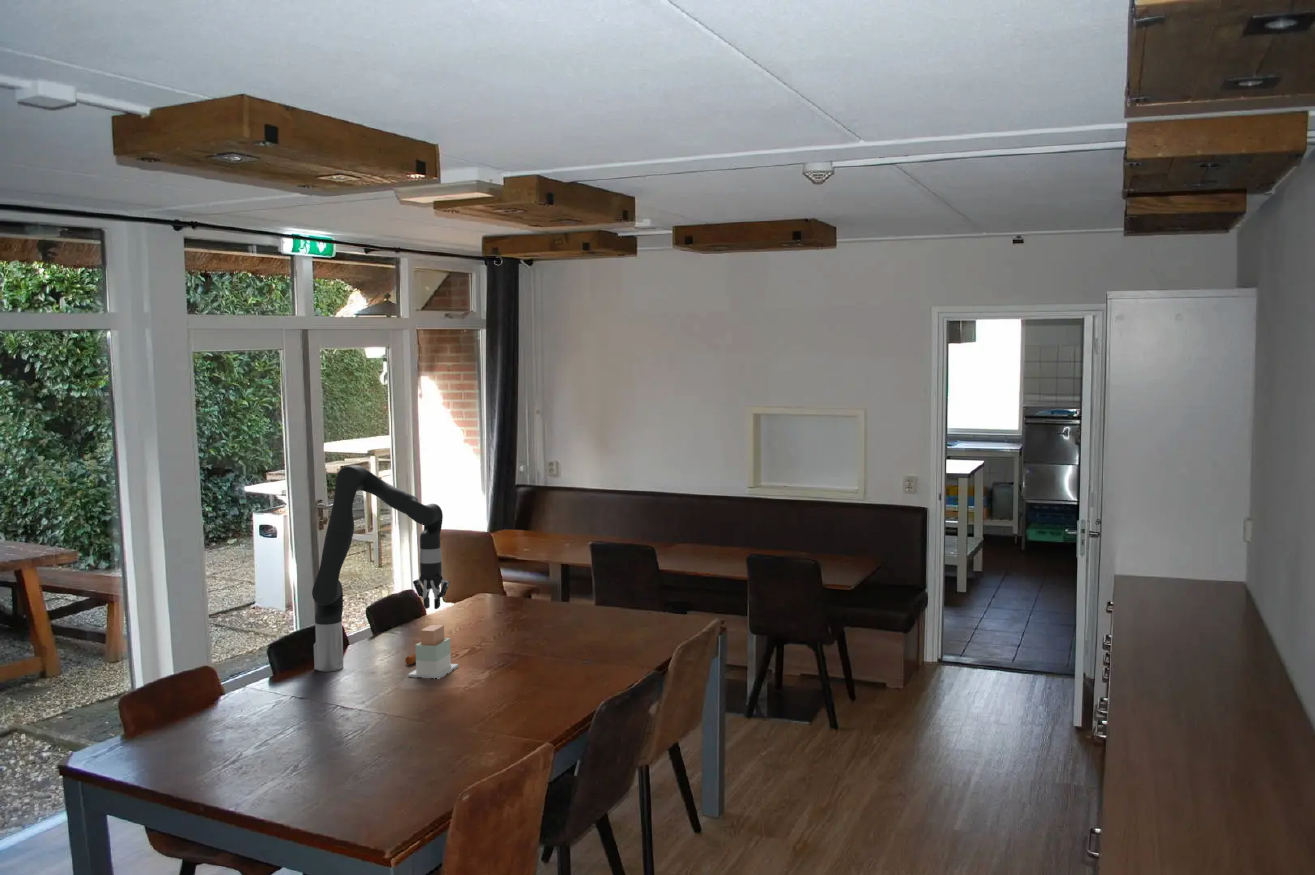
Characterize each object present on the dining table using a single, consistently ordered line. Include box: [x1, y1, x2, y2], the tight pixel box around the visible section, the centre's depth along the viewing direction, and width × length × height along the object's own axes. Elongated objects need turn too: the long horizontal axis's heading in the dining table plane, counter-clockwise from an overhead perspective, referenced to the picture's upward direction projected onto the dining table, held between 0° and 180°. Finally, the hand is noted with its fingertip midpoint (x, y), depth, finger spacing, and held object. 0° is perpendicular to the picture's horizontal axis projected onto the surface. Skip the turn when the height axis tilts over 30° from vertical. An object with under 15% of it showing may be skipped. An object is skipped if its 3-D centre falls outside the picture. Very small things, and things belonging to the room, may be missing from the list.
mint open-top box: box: [408, 637, 459, 680], centre depth 376 cm, size 15×12×11 cm
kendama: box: [404, 653, 416, 665], centre depth 394 cm, size 6×6×20 cm
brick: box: [420, 624, 445, 646], centre depth 375 cm, size 8×5×6 cm, turn 165°
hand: (432, 608), depth 374 cm, fingers open, 3 cm apart
